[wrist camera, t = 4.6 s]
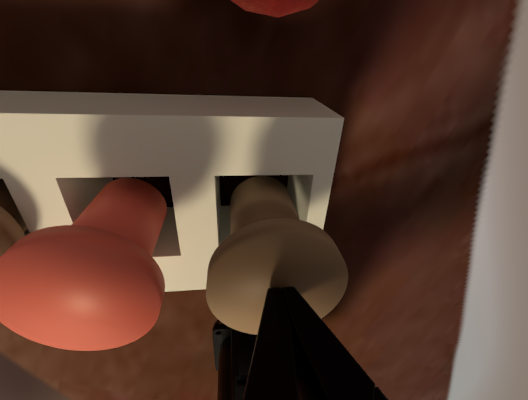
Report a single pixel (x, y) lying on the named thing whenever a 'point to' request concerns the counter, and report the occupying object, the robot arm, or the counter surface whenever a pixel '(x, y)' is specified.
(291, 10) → the onion
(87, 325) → the red plunger
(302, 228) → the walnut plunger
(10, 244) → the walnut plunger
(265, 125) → the jig
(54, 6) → the counter surface
